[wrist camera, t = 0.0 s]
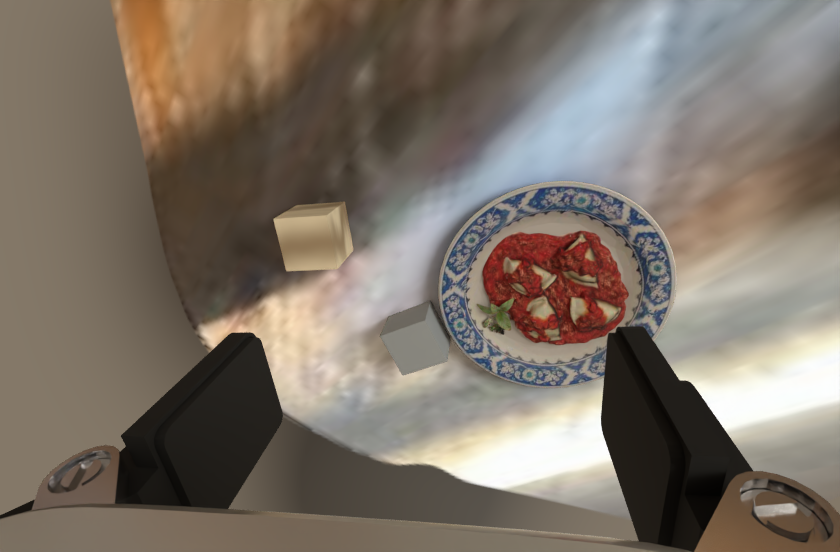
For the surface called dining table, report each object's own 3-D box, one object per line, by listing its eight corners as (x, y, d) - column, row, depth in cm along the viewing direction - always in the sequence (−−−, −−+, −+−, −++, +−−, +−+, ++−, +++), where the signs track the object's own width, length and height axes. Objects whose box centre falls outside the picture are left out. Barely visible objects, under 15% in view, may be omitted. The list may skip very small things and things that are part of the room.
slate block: (389, 315, 54) (379, 336, 49) (430, 300, 52) (425, 320, 47) (409, 352, 56) (402, 375, 51) (450, 338, 54) (447, 361, 49)
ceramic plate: (661, 149, 41) (673, 153, 39) (674, 362, 51) (685, 377, 48) (415, 208, 48) (411, 215, 45) (466, 389, 57) (465, 403, 54)
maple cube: (296, 205, 49) (273, 218, 44) (344, 201, 48) (326, 215, 43) (307, 252, 52) (286, 271, 46) (353, 250, 51) (337, 268, 45)
